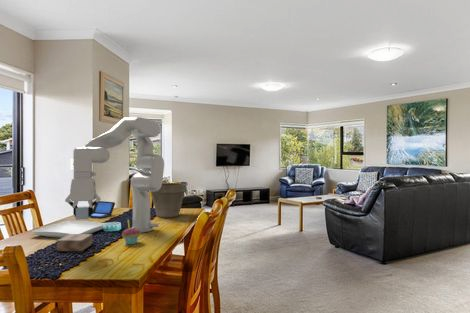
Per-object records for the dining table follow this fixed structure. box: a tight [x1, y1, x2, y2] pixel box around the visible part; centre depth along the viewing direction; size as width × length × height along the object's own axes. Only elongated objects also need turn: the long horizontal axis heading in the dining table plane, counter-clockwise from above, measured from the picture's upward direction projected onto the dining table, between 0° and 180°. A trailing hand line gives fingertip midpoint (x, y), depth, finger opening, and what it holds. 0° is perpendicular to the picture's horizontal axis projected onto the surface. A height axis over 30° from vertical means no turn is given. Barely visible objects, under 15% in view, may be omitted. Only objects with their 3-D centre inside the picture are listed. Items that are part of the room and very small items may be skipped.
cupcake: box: [121, 219, 141, 245], centre depth 158 cm, size 9×8×12 cm
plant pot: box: [149, 182, 187, 219], centre depth 224 cm, size 25×25×22 cm
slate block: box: [75, 205, 91, 221], centre depth 146 cm, size 5×5×5 cm
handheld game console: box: [89, 200, 116, 220], centre depth 221 cm, size 16×13×9 cm
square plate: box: [31, 220, 107, 239], centre depth 177 cm, size 27×27×4 cm
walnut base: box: [56, 233, 93, 252], centre depth 150 cm, size 11×11×5 cm
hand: (83, 215), depth 146 cm, fingers closed on slate block, 5 cm apart
